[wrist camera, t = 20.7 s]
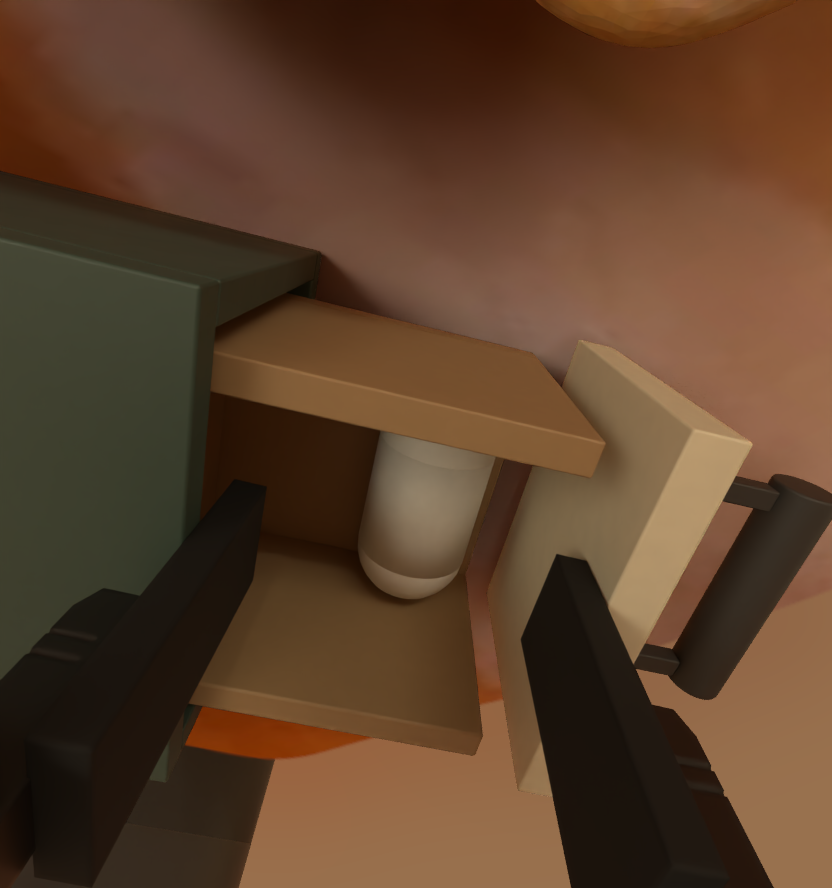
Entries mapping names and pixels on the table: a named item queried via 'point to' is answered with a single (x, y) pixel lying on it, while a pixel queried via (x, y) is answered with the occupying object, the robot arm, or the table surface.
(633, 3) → the ceramic bowl
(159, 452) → the cabinet
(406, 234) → the table surface
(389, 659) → the drawer
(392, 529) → the capsule
